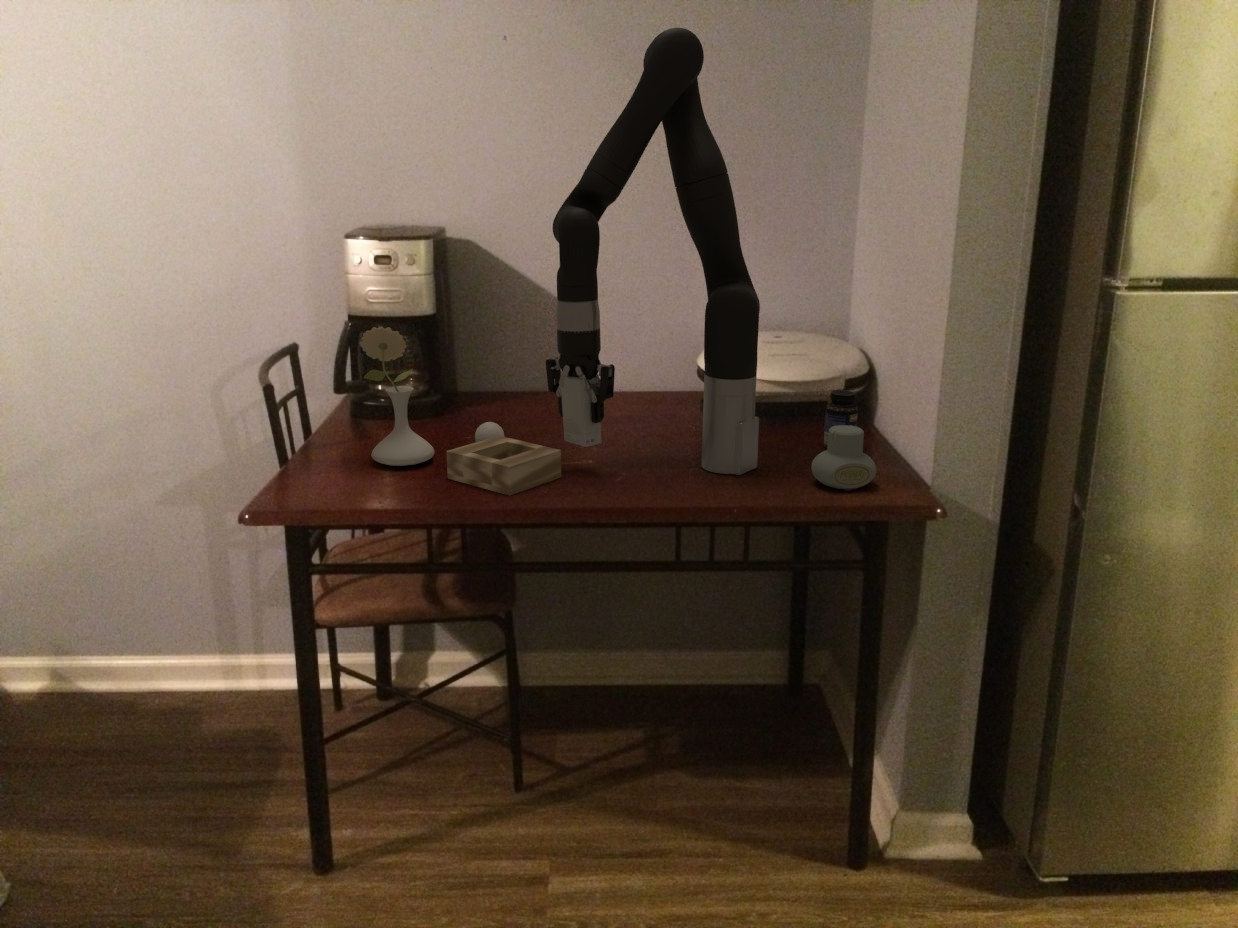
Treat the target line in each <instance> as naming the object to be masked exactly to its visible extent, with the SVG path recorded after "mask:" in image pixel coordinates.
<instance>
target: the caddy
mask: <svg viewBox="0 0 1238 928" xmlns="http://www.w3.org/2000/svg"><path fill="white" fill-rule="evenodd" d="M446 467H447V468H446V472H447V473H446V474H447V479H448V480H452V481H456V482H459V483H463V484H467V485H469V486H474V487H478V488H481V489H485V490H489V491H491V492H494V493H499V494H502V495H506V496H514V495H516V494H518V493H521V492H524V491H527V490H530V489H532V488H535V487H539V486H540V485H543V484H546V483H550V482H551V481H552V482H553V481H554V480H557V479H561V478H562V450H561V449H557V448H553V447H550V446H545V445H540V444H536V443H532V442H528V441H524V440H520V439H515V438H510V437H506V436H504V437H503V436H497V437H493V438H490V439H486V440H483V441H479V442H476V441H475V442H472V443H470V444H465V445H463V446H459V447H455V448H453V449H448V450H446Z"/></svg>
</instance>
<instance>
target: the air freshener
mask: <svg viewBox="0 0 1238 928" xmlns="http://www.w3.org/2000/svg"><path fill="white" fill-rule="evenodd" d="M864 437H865V431H864V430H863V429H862V428H861V427H859V426H857V427H855V426H849V425H838V426H833V427H831V428H830V429H829V434H828V447H827V448H826V450H823V451H821V452H820V453H819V454H817V455H816V456H815V457H814V458H813V460H812V462H811V465H810V466H811V473H812V475H813V476H814V478H815V479H816V480H817V481H818V482H820V483H821V484H823V485H825V486H826V487H828V488H832V489H835V488H836V490H839V489H844V490H843V491H852V490H851V489H854V490H857V489H859V488H862V487H863V486H867V485H868V484H870V482H872V481H873V479H875V476H876V474H877V465H876V463H875V462H874V460H873V459H872V457H870V456H869V455H868V454H866V453H864V452H863V451H864Z"/></svg>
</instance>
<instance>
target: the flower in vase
mask: <svg viewBox="0 0 1238 928" xmlns="http://www.w3.org/2000/svg"><path fill="white" fill-rule="evenodd" d="M403 338H404V336H403V335H402V334H400V331H398V330H397V331H394V330H392V328H391V327H389V326H388V327H386V328H384V326H378V327H374V326H373V327H372V328H371V329H370V330H366V331H365V332H363V334H362V337H361V341H359V345H360V347H361V348H362V351H363V352H365V355H366V356H368V357H369V358H371V359H373V360H375V359H378V361H380V362H382V370H383V371H380V370H378V369H371V370H369V371H368V372H367V373H366V374H365V375H364V377H363V379H365V380H371V381H375V382H381V381H383V380H384V378H385V376H386V378H387V379H388V380H389V382H390V383H391V384H392V386H389V387H387V388H385V392H386V393H387V394H388V396H389V398H390V399H391V403H392V406H393V411H394V412H393V413H394V426H393V429H392V431H391V432H390V433H389V434H387V436H386V437H384V438H383V439H382V440H381V441H380V442H378V443H377V444H376V446H374V448H373V449H372V453H371V457H372V459H373V460H374V461H375V462H377V463H380V464H383V465H385V466H387V465H388V466H391V467H392V466H395V467H397V466H398V467H399V466H401V467H402V466H403V467H404V466H412V465H418V464H422V463H424V462H426V461H429V460H430V459H432V458H433V456H434V455H435V453H436V452H435V449H434V447H433V446H432V445H431V444H430V443H429V442H428V440H426V439H424V438H423V437H421V436H420V435H419V434H417V433H416V432H415V431H413V430H412V429H411V427H410V424H409V420H408V404H409V399H410V396H411V394H412V392H413V391H414V387H413V386H409V385H396V384H395V383H396V382H401V381H404V380H405V379H407V378H408V377H409V376H410V375H411V374H412V372H413V368H411V369H410V370H408V371H405V372H403V373H400V374H399V375H397V377H395V379H394V380H392V379H391V377H390V376H389V375H388V373H387V371H386V368H385V362H391V360H393V361H395V360H397V358H402V357H403V356H404V353H405V352H406V350H405V349H406V348H408V347H407V342H406V341H405V339H403Z"/></svg>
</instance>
